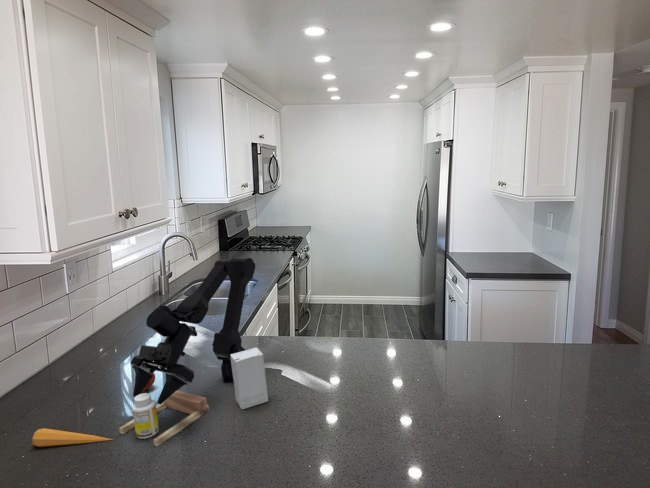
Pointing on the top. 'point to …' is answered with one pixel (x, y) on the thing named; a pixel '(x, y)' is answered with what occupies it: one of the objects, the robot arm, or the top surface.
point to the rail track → (181, 403)
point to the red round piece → (149, 382)
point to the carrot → (62, 438)
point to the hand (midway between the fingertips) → (146, 400)
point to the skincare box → (249, 378)
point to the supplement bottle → (145, 416)
